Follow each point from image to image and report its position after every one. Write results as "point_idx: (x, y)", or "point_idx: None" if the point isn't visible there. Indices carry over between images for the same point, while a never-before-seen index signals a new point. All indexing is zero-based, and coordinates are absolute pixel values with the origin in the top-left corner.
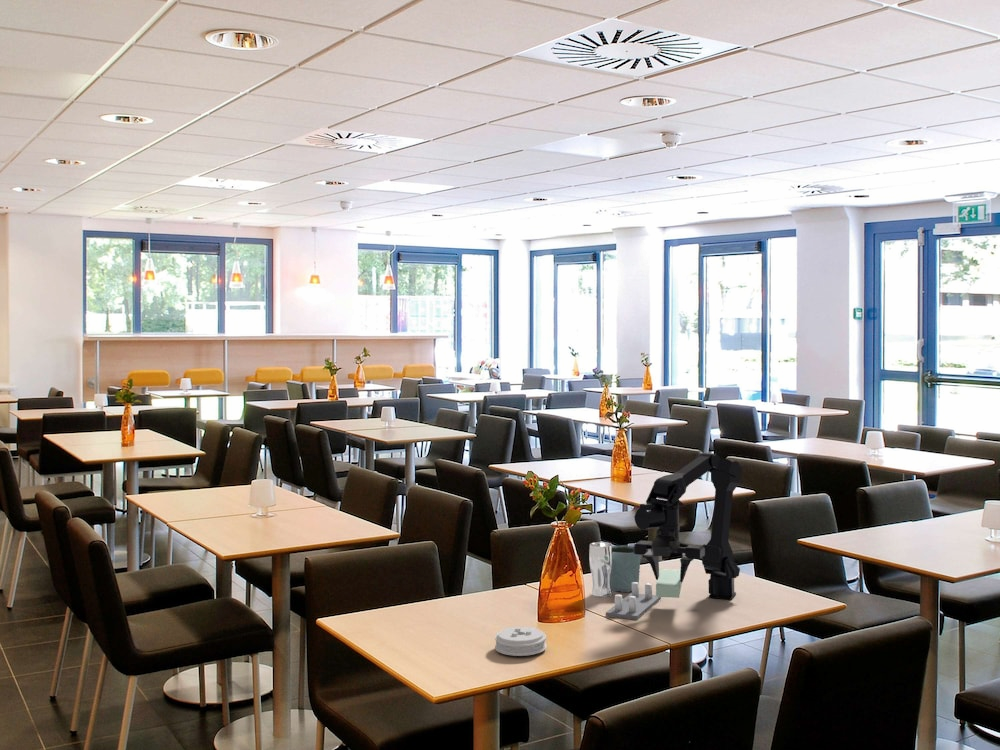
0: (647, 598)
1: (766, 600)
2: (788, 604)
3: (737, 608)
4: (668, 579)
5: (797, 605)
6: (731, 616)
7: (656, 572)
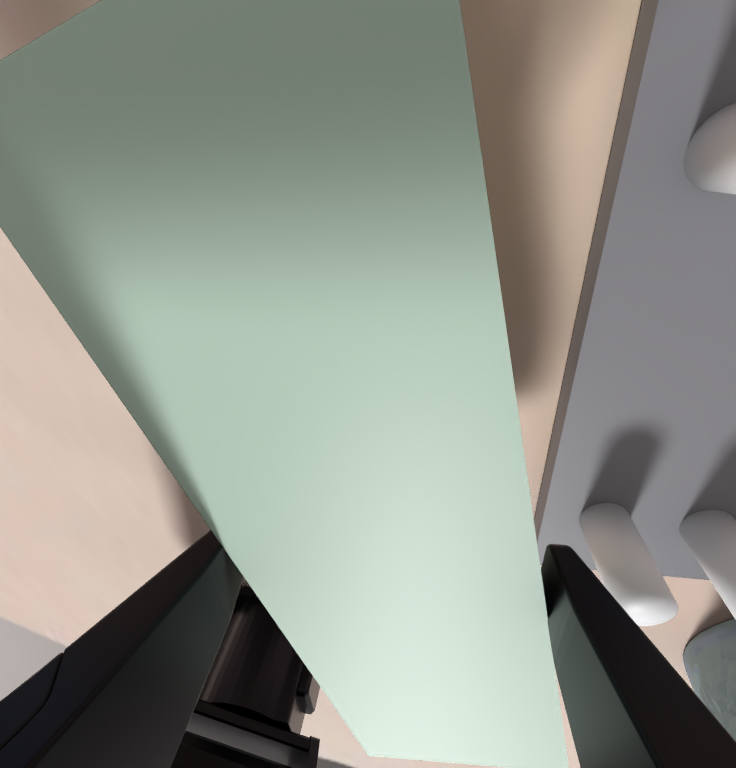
0: (611, 505)
1: (126, 597)
2: (44, 575)
3: (143, 504)
4: (352, 502)
5: (17, 571)
6: (83, 392)
7: (599, 650)
